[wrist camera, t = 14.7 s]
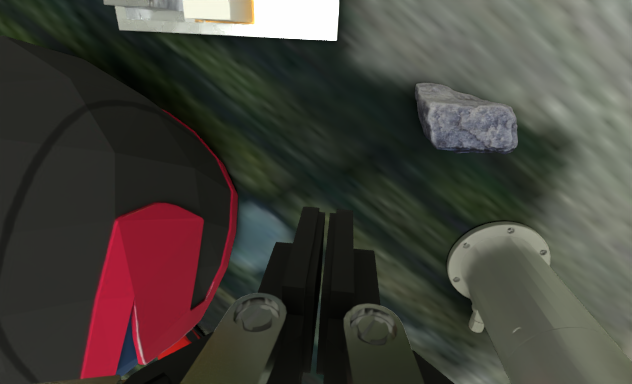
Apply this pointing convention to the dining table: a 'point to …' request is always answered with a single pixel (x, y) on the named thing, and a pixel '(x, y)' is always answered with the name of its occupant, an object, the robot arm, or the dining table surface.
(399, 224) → the dining table surface
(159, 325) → the helmet
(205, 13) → the off-white rectangular block
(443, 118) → the rock
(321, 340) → the robot arm
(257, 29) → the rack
